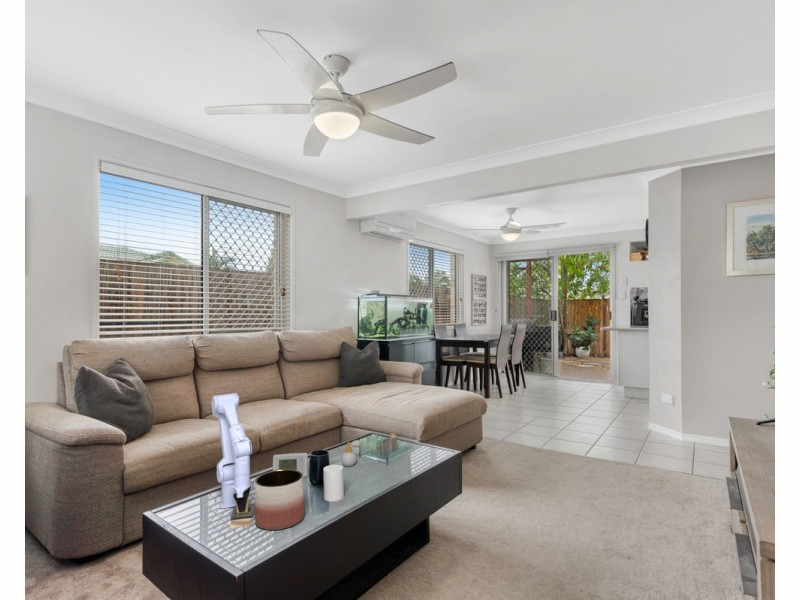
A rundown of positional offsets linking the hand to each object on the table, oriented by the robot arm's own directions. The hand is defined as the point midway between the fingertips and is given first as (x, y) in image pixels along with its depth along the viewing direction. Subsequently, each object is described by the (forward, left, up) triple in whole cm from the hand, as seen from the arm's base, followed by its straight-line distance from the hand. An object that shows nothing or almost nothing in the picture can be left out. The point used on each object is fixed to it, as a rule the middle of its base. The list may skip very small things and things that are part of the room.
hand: (242, 509), depth 168 cm
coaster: (+7, 0, -3) cm, 7 cm away
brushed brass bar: (0, 0, -3) cm, 3 cm away
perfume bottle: (-43, +46, -3) cm, 63 cm away
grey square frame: (-1, 0, -3) cm, 3 cm away
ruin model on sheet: (-56, +68, -3) cm, 88 cm away
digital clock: (-35, +17, -3) cm, 39 cm away
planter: (+7, +14, -3) cm, 16 cm away
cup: (-7, +35, -3) cm, 36 cm away
